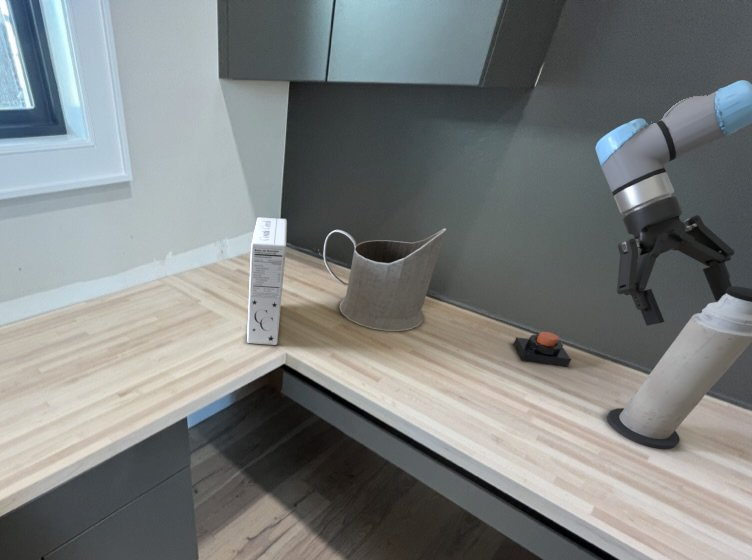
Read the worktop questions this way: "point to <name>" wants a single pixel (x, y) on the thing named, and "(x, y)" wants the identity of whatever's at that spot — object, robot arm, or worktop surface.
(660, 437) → the thermos bottle
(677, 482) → the worktop surface
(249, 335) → the cereal box
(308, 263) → the worktop surface
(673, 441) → the coaster
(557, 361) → the button block
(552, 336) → the lid button
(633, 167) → the robot arm
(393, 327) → the pitcher
